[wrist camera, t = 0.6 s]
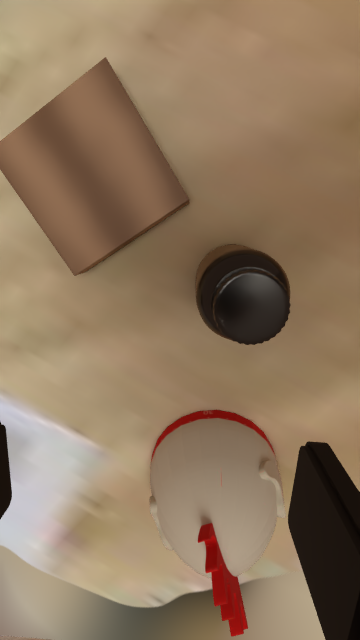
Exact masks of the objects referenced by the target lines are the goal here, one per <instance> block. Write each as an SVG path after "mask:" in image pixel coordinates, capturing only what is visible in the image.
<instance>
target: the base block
mask: <svg viewBox="0 0 360 640" xmlns="http://www.w3.org/2000/svg"><path fill="white" fill-rule="evenodd" d="M0 170H1V171H2V173H3V174H4V175H5V177H6V178H7V180H8V181H9V183H10V184H11V185H12V187H13V188H14V190H15V191H16V193H17V194H18V195H19V197H20V198H21V200H22V201H23V203H24V204H25V206H26V207H27V208H28V210H29V211H30V213H31V214H32V216H33V217H34V218H35V220H36V221H37V223H38V224H39V226H40V227H41V228H42V230H43V231H44V233H45V234H46V236H47V237H48V238H49V240H50V241H51V243H52V244H53V246H54V247H55V248H56V250H57V251H58V253H59V254H60V256H61V257H62V258H63V260H64V261H65V263H66V264H67V266H68V267H69V269H70V270H71V271H72V273H73V274H74V276H75V275H78V274H81V273H84V272H86V271H88V270H89V269H91V268H92V267H94V266H95V265H97V264H98V263H100V262H101V261H103V260H104V259H106V258H107V257H109V256H110V255H112V254H113V253H115V252H116V251H118V250H119V249H121V248H122V247H124V246H125V245H127V244H128V243H130V242H131V241H133V240H134V239H136V238H137V237H139V236H140V235H142V234H143V233H145V232H146V231H148V230H149V229H151V228H152V227H154V226H155V225H157V224H158V223H160V222H161V221H163V220H164V219H166V218H167V217H169V216H170V215H172V214H173V213H175V212H176V211H178V210H179V209H181V208H182V207H184V206H185V205H187V204H188V203H190V202H189V198H188V197H187V195H186V193H185V192H184V190H183V188H182V186H181V185H180V183H179V181H178V180H177V178H176V176H175V175H174V173H173V171H172V169H171V168H170V166H169V164H168V163H167V161H166V159H165V157H164V156H163V154H162V152H161V151H160V149H159V147H158V146H157V144H156V142H155V140H154V139H153V137H152V135H151V134H150V132H149V130H148V128H147V127H146V125H145V123H144V122H143V120H142V118H141V117H140V115H139V113H138V111H137V110H136V108H135V106H134V105H133V103H132V101H131V99H130V98H129V96H128V94H127V93H126V91H125V89H124V88H123V86H122V84H121V82H120V81H119V79H118V77H117V76H116V74H115V72H114V71H113V69H112V67H111V65H110V64H109V62H108V60H107V59H106V57H105V58H104V59H103V60H102V61H100V62H99V63H98V64H97V65H95V66H94V67H93V68H92V69H90V70H89V71H88V72H86V73H85V74H84V75H83V76H81V77H80V78H79V79H78V80H76V81H75V82H74V83H73V84H71V85H70V86H69V87H68V88H66V89H65V90H64V91H63V92H61V93H60V94H59V95H58V96H56V97H55V98H54V99H53V100H51V101H50V102H49V103H48V104H46V105H45V106H44V107H43V108H41V109H40V110H39V111H38V112H36V113H35V114H34V115H33V116H31V117H30V118H29V119H27V120H26V121H25V122H24V123H22V124H21V125H20V126H19V127H17V128H16V129H15V130H14V131H12V132H11V133H10V134H9V135H7V136H6V137H5V138H4V139H2V140H1V141H0Z"/></svg>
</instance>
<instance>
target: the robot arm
mask: <svg viewBox="0 0 360 640" xmlns="http://www.w3.org/2000/svg"><path fill="white" fill-rule="evenodd" d="M11 498H12V490H11V480H10V469H9V458H8V448H7V437H6V428H5V426H4V425H1V422H0V519H1V517H2V516H3V514H4V513H5V511H6V510H7V508H8V507H9V505H10V502H11ZM288 524H289V529H290V533H291V536H292V539H293V542H294V545H295V548H296V551H297V554H298V557H299V560H300V563H301V566H302V569H303V572H304V575H305V578H306V581H307V584H308V587H309V590H310V593H311V597H312V599H313V603H314V606H315V609H316V611H317V615H318V618H319V621H320V624H321V627H322V630H323V633H324V636H325V639H326V640H360V492H359V491H358V489H357V488H356V486H355V485H354V483H353V482H352V480H351V478H350V477H349V475H348V474H347V472H346V471H345V469H344V468H343V466H342V465H341V463H340V461H339V460H338V458H337V457H336V455H335V454H334V452H333V451H332V449H331V448H330V446H329V445H328V444H327V443H321V442H307V443H306V445H305V446H301V447H300V450H299V455H298V461H297V467H296V473H295V479H294V485H293V491H292V496H291V502H290V508H289V514H288ZM0 640H50V639H37V638H26V637H14V636H13V637H12V636H1V635H0Z"/></svg>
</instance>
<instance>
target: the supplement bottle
mask: <svg viewBox="0 0 360 640" xmlns="http://www.w3.org/2000/svg"><path fill="white" fill-rule="evenodd" d="M196 302H197V307H198V310H199V313H200V315H201V317H202V319H203V321H204V322H205V324H206V325H207V326H208V327H209V328H210V329H211V330H212V331H213V332H215V333H216V334H218V335H220V336H221V337H224V338H226V339H229V340H232V341H237V342H238V343H240V344H242V343H244V344H246V345H248V344H253V345H255V344H257V343H263V342H264V341H268V340H270V338H273V337H275V336H276V334H277V333H279V332H280V331H281V329H282V328H283V327H284V326H285V322H286V321H287V320H288V315H289V313H290V310H289V308H290V285H289V281H288V278H287V276H286V273H285V272H284V270H283V269H282V267H281V266H280V265H279V264H278V263H277V262H276V261H275V260H274V259H273V258H271V257H270V256H268V255H267V254H265V253H263V252H260V251H257V250H254V249H251V248H249V247H246V246H242V245H236V244H230V245H224V246H221V247H218V248H216V249H214V250H213V251H211V252H210V253H209V254H207V255H206V256H205V258H204V259H203V260H202V262H201V263H200V265H199V267H198V270H197V274H196Z"/></svg>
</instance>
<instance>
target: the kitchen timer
mask: <svg viewBox="0 0 360 640" xmlns="http://www.w3.org/2000/svg"><path fill="white" fill-rule="evenodd" d="M150 485H151V493H152V496H151V497H150V514H151V515H152V517H153V519H154V521H155V523H156V526H157V528H158V531H159V534H160V538H161V540H162V543H163V545H164V546H165V547H166V548H167V549H168V550H174V551H175V552H176V554H177V555H178V556H179V558H180V559H181V560H182V561H183V562H184V563H185V564H186V565H188V566H189V567H190V568H192V569H193V570H194V571H195V572H197V573H199V574H201V575H203V576H206V577H208V578H212V586H213V597H214V605H215V606H219V605H220V606H221V615H222V621H225V620H229V626H230V632H231V636H236V635H240V634H243V633H244V632H243V630H244V629H248V626H247V620H246V616H245V611H244V606H243V601H242V596H241V592H240V587H239V582H238V578H237V576H239V575H241V574H242V573H244V572H246V571H247V570H249V569H250V568H251V567H252V566H253V565H254V564H255V563H256V562H257V561H258V560H259V558H260V557H261V556H262V554H263V553H264V551H265V549H266V547H267V545H268V543H269V541H270V539H271V537H272V535H273V532H274V529H275V525H276V520H277V517H281V518H285V517H286V514H285V506H284V498H283V489H282V481H281V476H280V473H279V470H278V467H277V462H276V457H275V454H274V451H273V448H272V446H271V444H270V442H269V441H268V439H267V437H266V436H265V434H264V432H263V431H262V430H260V429H259V428H258V427H257V426H256V425H255V424H254V423H253V422H252V421H250V420H248V419H246V418H244V417H242V416H240V415H237V414H235V413H231V412H225V411H220V410H209V411H198V412H195V413H192V414H189V415H186V416H183V417H181V418H180V419H178V420H177V421H175V422H174V423H172V424H171V425H170V426H168V427H167V428H166V430H165V431H164V432H163V433H162V435H161V436H160V437H159V438H158V440H157V443H156V446H155V449H154V451H153V454H152V460H151V476H150Z"/></svg>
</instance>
